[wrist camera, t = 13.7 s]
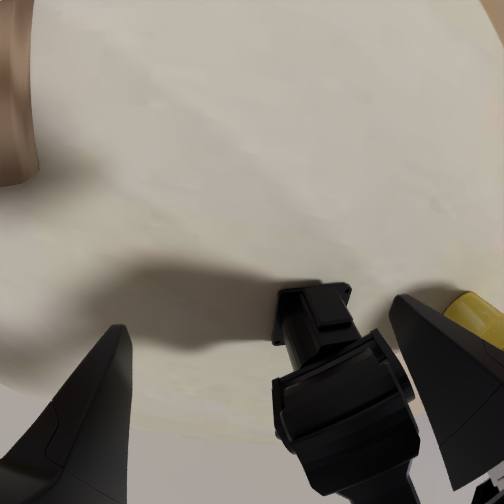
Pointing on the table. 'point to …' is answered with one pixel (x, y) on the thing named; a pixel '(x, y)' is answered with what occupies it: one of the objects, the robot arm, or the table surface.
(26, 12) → the walnut stand
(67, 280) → the table surface
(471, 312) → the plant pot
